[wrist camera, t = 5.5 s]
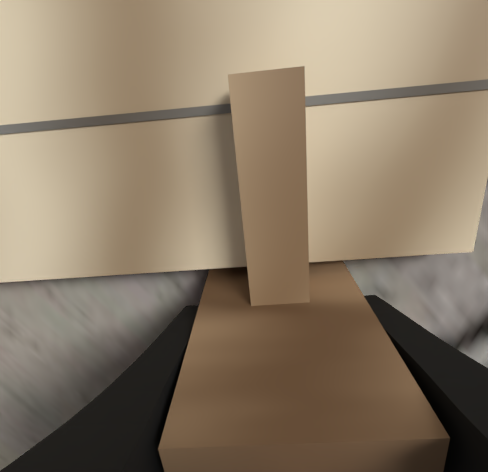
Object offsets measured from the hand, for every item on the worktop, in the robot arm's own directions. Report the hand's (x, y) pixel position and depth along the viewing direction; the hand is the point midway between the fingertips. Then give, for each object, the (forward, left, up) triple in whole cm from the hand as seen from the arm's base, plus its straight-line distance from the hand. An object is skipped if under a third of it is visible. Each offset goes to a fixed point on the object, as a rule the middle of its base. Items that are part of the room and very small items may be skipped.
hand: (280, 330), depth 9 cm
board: (-4, +6, -2) cm, 7 cm away
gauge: (0, +2, -2) cm, 3 cm away
